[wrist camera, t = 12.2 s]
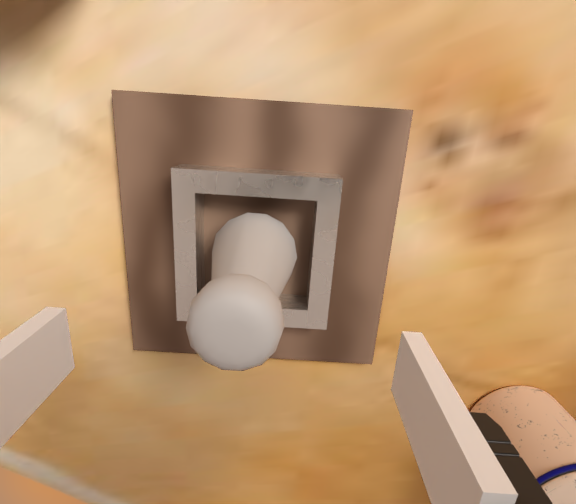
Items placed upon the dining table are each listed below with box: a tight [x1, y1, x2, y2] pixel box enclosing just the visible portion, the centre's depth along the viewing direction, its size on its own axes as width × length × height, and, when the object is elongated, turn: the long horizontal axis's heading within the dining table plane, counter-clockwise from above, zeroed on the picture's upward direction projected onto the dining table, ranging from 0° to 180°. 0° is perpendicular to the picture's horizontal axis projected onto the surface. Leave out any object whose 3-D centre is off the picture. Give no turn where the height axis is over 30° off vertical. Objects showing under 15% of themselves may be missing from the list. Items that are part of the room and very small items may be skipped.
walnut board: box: [112, 90, 413, 364], centre depth 28 cm, size 20×20×1 cm
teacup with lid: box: [470, 386, 576, 504], centre depth 29 cm, size 12×9×12 cm
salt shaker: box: [186, 213, 297, 371], centre depth 21 cm, size 6×6×13 cm
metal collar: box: [171, 164, 343, 330], centre depth 26 cm, size 11×11×2 cm
